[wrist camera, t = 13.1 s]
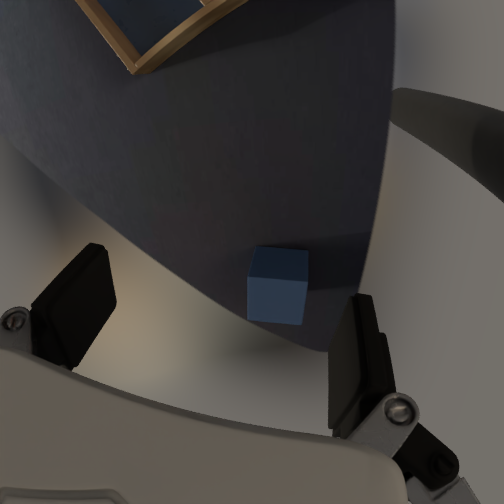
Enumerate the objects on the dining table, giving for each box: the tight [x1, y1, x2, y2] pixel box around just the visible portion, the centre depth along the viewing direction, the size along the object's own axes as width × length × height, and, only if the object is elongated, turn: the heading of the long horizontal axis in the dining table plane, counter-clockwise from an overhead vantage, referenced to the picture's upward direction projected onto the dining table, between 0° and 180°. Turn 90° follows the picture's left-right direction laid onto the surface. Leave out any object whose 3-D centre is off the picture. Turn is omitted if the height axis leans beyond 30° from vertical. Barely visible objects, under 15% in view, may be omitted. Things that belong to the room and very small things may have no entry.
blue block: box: [248, 246, 308, 325], centre depth 26 cm, size 4×4×4 cm
